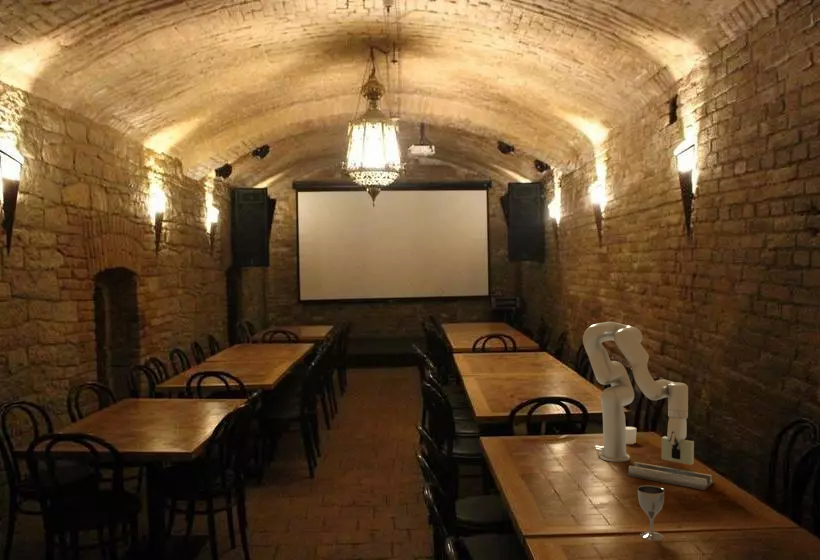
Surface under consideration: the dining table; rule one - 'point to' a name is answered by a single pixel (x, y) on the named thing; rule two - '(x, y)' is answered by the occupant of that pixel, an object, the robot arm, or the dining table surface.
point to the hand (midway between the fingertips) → (677, 456)
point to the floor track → (670, 475)
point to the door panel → (685, 451)
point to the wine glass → (651, 507)
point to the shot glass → (630, 435)
